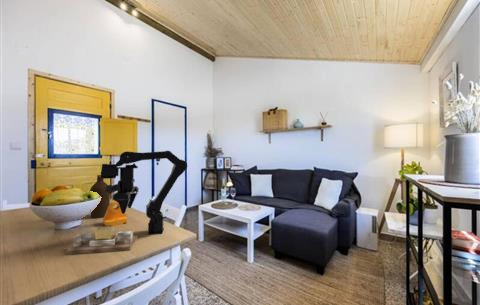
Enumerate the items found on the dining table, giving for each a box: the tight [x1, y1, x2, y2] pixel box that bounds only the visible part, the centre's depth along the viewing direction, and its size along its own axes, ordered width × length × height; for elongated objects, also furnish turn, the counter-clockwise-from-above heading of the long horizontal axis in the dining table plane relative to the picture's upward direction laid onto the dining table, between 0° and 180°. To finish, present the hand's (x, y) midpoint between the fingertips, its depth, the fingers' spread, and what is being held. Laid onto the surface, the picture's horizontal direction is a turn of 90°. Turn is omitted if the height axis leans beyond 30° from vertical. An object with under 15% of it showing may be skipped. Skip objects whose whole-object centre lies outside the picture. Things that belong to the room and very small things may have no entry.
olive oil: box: [89, 174, 111, 219], centre depth 133 cm, size 11×11×25 cm
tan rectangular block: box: [94, 225, 116, 241], centre depth 93 cm, size 6×4×6 cm, turn 101°
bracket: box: [102, 200, 129, 227], centre depth 121 cm, size 11×7×12 cm, turn 132°
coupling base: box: [66, 230, 139, 255], centre depth 93 cm, size 23×12×6 cm, turn 101°
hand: (126, 210), depth 104 cm, fingers open, 9 cm apart
